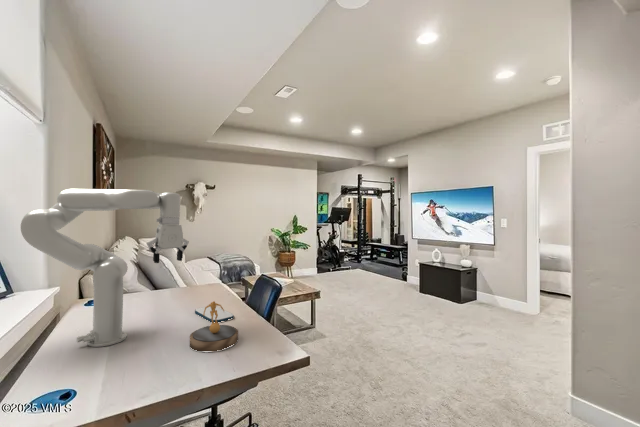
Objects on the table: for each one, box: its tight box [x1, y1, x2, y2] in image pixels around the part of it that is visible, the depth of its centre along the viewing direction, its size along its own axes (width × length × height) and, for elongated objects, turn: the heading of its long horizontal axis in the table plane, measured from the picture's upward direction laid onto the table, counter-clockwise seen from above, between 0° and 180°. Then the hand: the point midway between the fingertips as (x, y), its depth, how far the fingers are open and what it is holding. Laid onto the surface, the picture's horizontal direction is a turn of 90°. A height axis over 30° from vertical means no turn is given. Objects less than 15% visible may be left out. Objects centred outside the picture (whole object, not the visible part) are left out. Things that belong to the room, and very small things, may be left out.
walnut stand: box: [189, 324, 239, 352], centre depth 117 cm, size 18×18×4 cm
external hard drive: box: [194, 306, 235, 323], centre depth 148 cm, size 24×12×2 cm, turn 46°
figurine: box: [203, 300, 225, 333], centre depth 117 cm, size 8×6×12 cm
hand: (168, 261), depth 126 cm, fingers open, 9 cm apart
